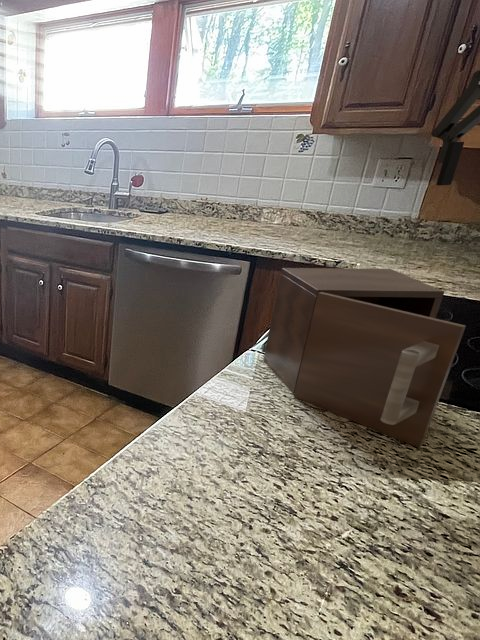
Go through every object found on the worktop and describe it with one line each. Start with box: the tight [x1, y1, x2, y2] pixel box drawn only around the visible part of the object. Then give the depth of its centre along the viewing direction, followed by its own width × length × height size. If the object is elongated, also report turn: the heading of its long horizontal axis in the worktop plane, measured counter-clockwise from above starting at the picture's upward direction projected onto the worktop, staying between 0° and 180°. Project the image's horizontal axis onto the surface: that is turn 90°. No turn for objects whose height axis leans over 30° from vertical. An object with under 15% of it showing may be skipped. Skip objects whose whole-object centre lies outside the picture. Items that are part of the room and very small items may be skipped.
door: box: [293, 292, 467, 448], centre depth 74 cm, size 7×18×18 cm, turn 31°
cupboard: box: [262, 267, 445, 395], centre depth 89 cm, size 14×18×18 cm
